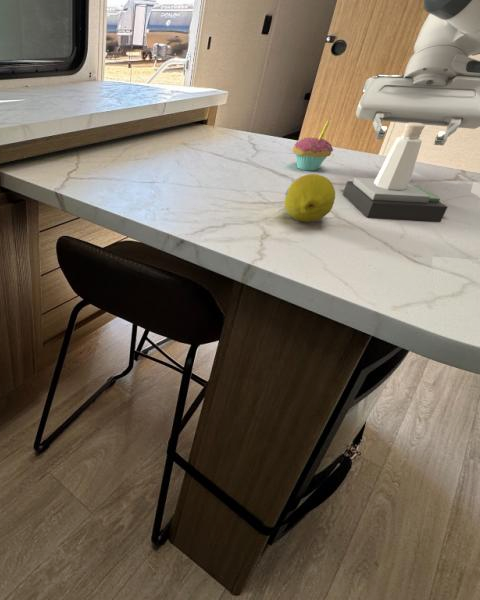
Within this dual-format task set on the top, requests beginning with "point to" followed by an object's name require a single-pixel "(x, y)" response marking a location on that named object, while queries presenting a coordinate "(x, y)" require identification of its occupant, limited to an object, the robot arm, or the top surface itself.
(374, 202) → the scale
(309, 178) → the lemon
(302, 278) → the top surface
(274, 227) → the top surface
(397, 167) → the salt shaker
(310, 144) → the cupcake
